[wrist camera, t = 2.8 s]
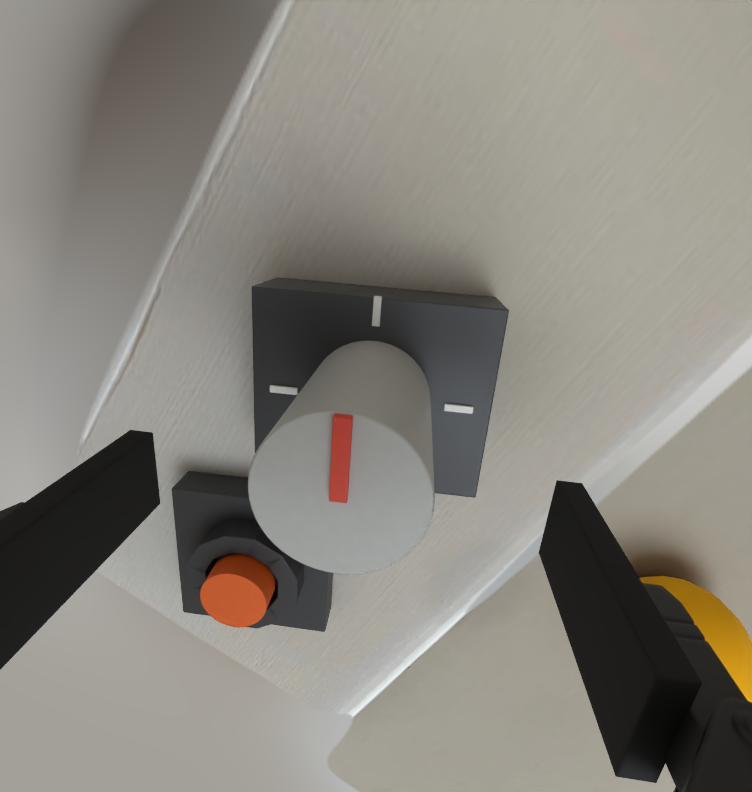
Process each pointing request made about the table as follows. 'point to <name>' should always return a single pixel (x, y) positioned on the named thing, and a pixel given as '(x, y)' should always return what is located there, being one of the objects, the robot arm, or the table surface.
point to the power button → (238, 590)
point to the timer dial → (349, 463)
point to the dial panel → (396, 325)
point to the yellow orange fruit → (715, 628)
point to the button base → (241, 551)
